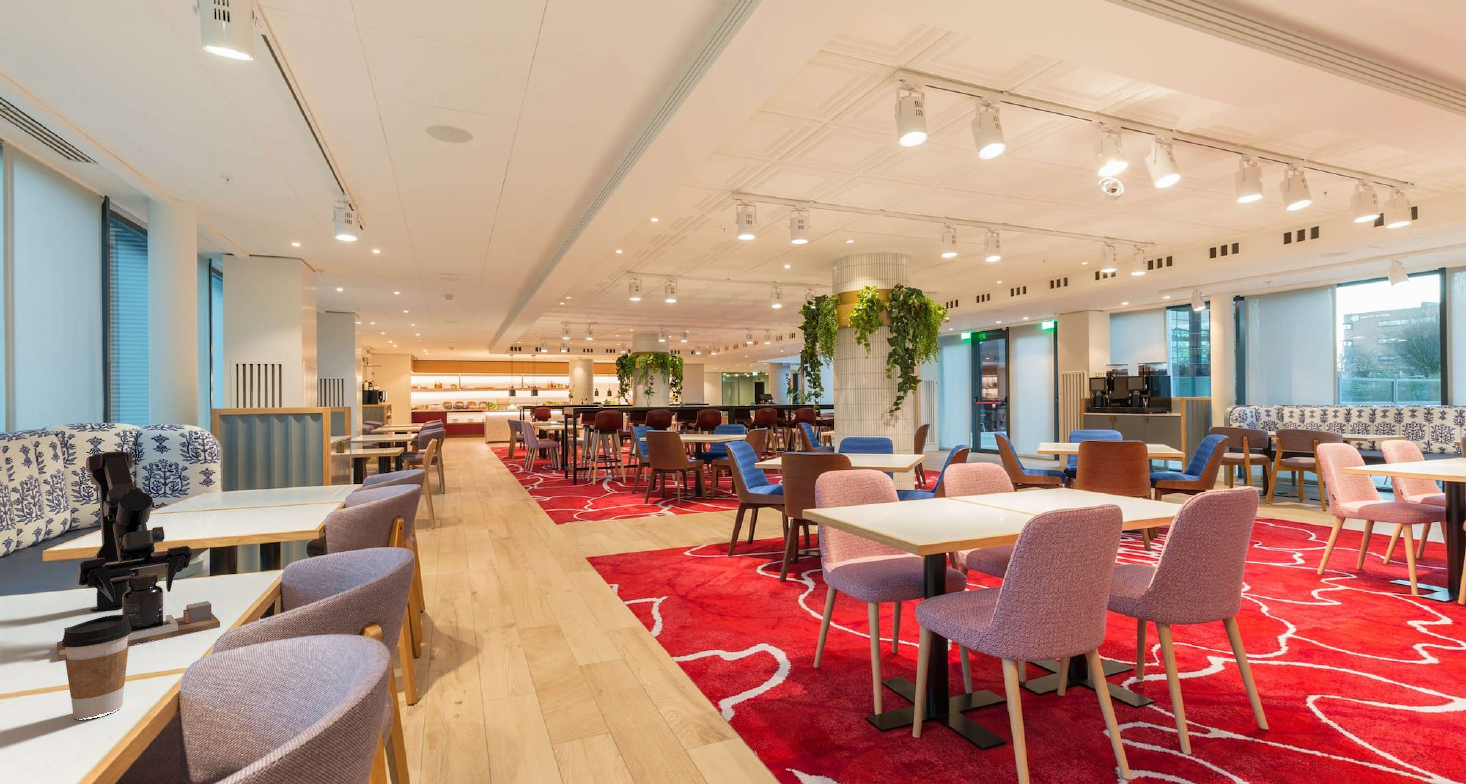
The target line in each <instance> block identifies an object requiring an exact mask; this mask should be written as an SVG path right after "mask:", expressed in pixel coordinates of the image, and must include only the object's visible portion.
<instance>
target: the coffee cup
mask: <svg viewBox="0 0 1466 784" xmlns="http://www.w3.org/2000/svg"><path fill="white" fill-rule="evenodd" d="M69 627H70V628H68V629H66V630H65V632H64V631H63V633H64V634H63V637H62V640H61V641H62V642H63V643H62V646H64V647H65V648H66V657H65V660H64V661H65V666H66V667H65V668H66V674H67V680H68V682H67V683H68V687H69V695H70V698H71V708H72V716H73V719H74V718H75V719H83V718H88V717H94V716H97V715H99V714H104V713H107V712H113V711H114V710H116V709H119V708H121V706H122V707H123V706H124V705H123V703H124V692H125V691H124V689H125V683H126V673H127V672H126V671H127V665H128V664H127V663H128V656H129V655H128V654H129V647H130V646H129V645H128V644H127V641H128V635H129V634H130V633H131V630H130V629H131V626H130V624H129V619H128V616H127V615H122V614H112V615H105V616H101V617H96V618H93V619H90V620H87V621H84V622H81V623H78V624H74V625H73V626H72V625H71V626H69ZM121 709H122V708H121ZM75 719H74V720H75Z"/></svg>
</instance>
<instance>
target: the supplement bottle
mask: <svg viewBox="0 0 1466 784" xmlns="http://www.w3.org/2000/svg"><path fill="white" fill-rule="evenodd" d="M157 583H159V582H158V574H156V573H149V574H147V573H146V574H141V575H140V574H139V575H138V576H134V577H131V578H129V579H128V587H130V589H129V590H127V591H126V592H125V593H124V594H123V596H122V608H121V611H122V614H121V615H127V616H128V619H129V624H130V626H131V629H130V630H131V632H133V631H138V630H143V629H148V628H153V627H158V626H162V625H163V621H164V590H163V588H162V586H160V585H157Z"/></svg>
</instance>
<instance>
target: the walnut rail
mask: <svg viewBox="0 0 1466 784" xmlns="http://www.w3.org/2000/svg"><path fill="white" fill-rule="evenodd" d="M185 607H186V609H183V611H182V612H183V616H181V617H177V618H174V617H173V615H172V614H168V615H165V620H163V625H162V626H158V627H153V628H148V629H143V630H138V631H133V632H131V633H130V634H129V635H128V641H127V644H128V645H129V647H131V646H130V645H132V646H135V645H134V644H137V643H142V644H145V643H144V642H146V643H149V642H148V641H151V642H153V641H152V640H156V641H160V640H159V639H161V640H164V639H163V638H165V639H169V638H168V637H170V638H174V637H179V636H183V635H188V634H193V633H197V632H198V633H199V632H202V631H207V630H210V629H216V628H221V621H220V620H219V619H218V617H216V616H215V614H213V612H212V603H211V602H210V601H209V600H206V601H200V602H194V603H190V604H186V606H185ZM70 627H71V626H67V627H64V628H63V633H64V632H65V630H66V629H68V628H70ZM62 643H63V642H62V640H61V641H57V642H56V649H57V655H58V661H59V662H62V661H65V657H66V648H65V647H64V646H62ZM137 645H138V644H137ZM61 660H62V661H61Z"/></svg>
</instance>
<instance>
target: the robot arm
mask: <svg viewBox="0 0 1466 784" xmlns="http://www.w3.org/2000/svg"><path fill="white" fill-rule="evenodd" d="M133 468H134V462H133V453H130V452H129V453H128V451H124V450H120V451H119V450H118V451H105V452H102V453H93V454H91V455H90V456H88V457H87V458H86V459H85V471H86V473H89V480H90V481H91V482H92V484H94V485H95V486H96V487H97V488H98V493H99V494H98V495H99V496H98V497H99V498H98V499H99V513H100V527H101V528H100V531H101V533H100V534H101V547H99V549H98V550H97V552H96V553H95V555H94V558H91V559H84V560H82V561H81V562H80V563H78V573H77V581H78V585H80V586H86V585H87V588H88V587H89V588H91V587H92V588H95V589H96V590H97V591H96V606H95V607H92V608H90V611H91V612H92V611H109V610H120V609H122V596H123V594H124V593H125V592H126V591H127V590H129V589H130V587H128V579H129V578H131V577H134V576H138V575H140V569H144V568H150V567H157V566H163V565H165V584H166V586H165V587H166V590H167V592H168V593H169V592H171V590H172V584H173V581H174V579H175V577H176V575H177V574H178V573H180V572H182V571H183V570H185V569H186V568H188V567H189V565H190V561H191V557H192V554H193V553H192V548H191V547H190V546H188V545H181V546H173V547H168V548H167V551H166V554H163V555H161V554H160V555H155V556H153V554H154V553H155V551H156V550H155V544H157V543H163V542H164V540H165V538H166V537H165V531H164V527H163V526H155V527H152V528H151V529H148V527H147V526H148V525H147V523H148V522H149V520H150V516H151V511H152V508H155V502H154V499H153V497H152V496H151V495H149V494H148V493H146V492H144V491H143V489H142V488H141V487H138V486H136V485H134V481H133V478H132V474H131V469H133Z"/></svg>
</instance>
